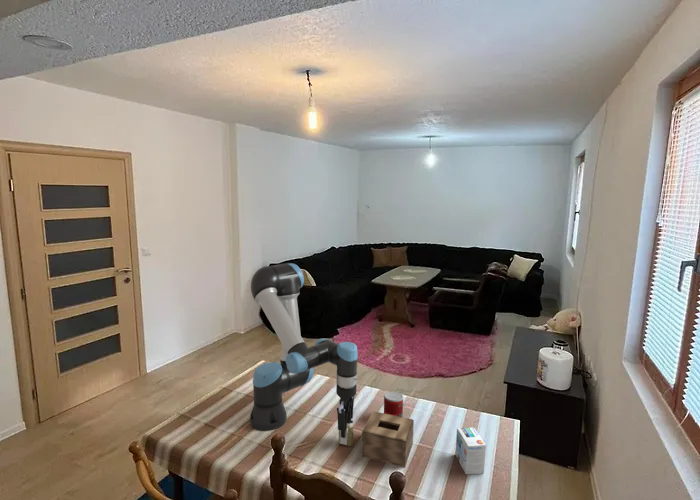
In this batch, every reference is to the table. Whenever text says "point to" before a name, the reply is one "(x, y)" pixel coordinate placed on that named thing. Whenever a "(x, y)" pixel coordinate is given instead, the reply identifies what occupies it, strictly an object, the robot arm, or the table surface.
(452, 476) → the table surface
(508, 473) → the table surface
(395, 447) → the brown block with hole
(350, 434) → the butter stick block
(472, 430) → the light bulb box
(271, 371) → the robot arm
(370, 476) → the table surface
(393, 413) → the canned food
